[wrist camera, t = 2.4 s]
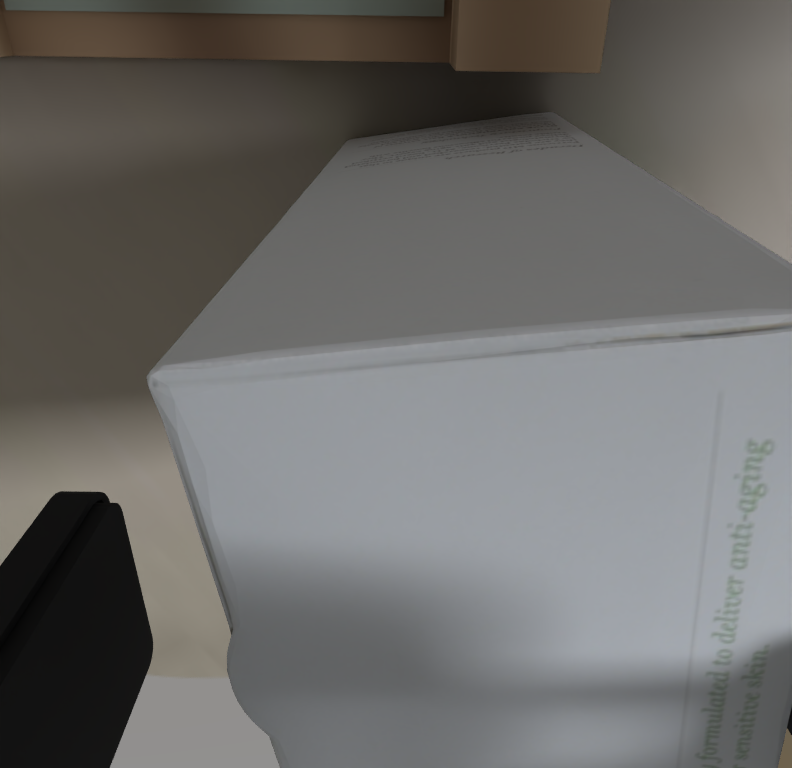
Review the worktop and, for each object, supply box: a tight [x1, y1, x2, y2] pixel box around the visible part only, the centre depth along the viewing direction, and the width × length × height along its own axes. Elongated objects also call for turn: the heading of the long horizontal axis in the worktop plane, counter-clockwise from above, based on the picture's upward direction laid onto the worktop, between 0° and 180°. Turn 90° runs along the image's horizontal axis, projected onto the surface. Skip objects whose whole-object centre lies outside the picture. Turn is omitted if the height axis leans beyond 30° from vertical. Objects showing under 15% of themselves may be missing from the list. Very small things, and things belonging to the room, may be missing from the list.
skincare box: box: [147, 112, 792, 768], centre depth 14 cm, size 8×7×16 cm
